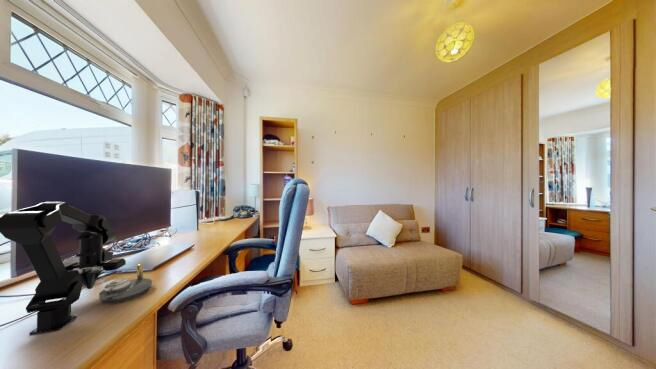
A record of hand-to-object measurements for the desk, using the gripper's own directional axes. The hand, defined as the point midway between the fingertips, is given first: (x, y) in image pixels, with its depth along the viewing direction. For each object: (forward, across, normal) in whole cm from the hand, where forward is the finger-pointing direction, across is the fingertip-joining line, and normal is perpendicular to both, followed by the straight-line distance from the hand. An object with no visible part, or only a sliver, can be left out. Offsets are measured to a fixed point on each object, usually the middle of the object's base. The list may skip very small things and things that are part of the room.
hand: (90, 288), depth 76 cm
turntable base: (+4, -11, 0) cm, 12 cm away
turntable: (+3, -11, -1) cm, 12 cm away
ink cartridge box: (+4, +17, -21) cm, 27 cm away
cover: (+1, -8, 0) cm, 8 cm away
